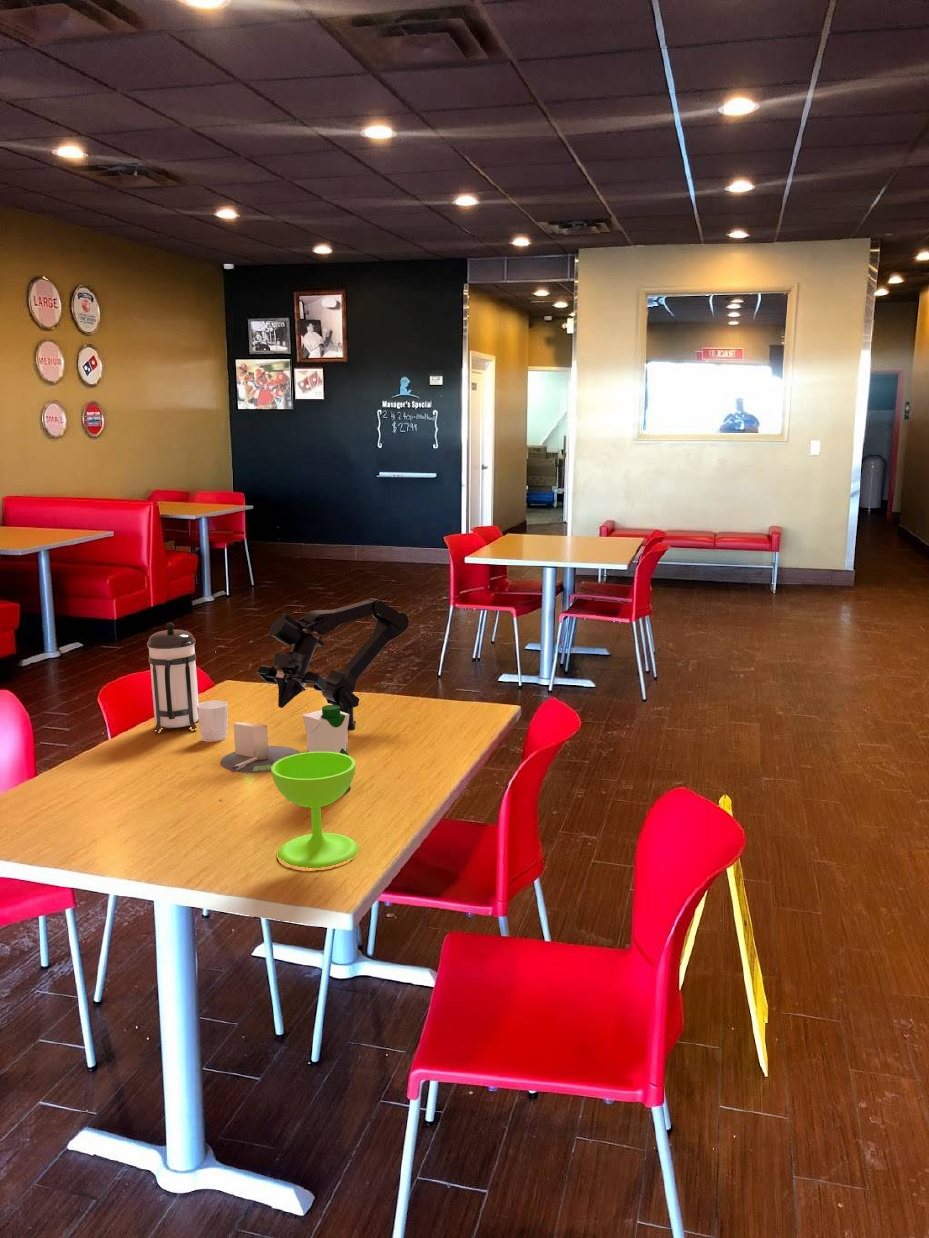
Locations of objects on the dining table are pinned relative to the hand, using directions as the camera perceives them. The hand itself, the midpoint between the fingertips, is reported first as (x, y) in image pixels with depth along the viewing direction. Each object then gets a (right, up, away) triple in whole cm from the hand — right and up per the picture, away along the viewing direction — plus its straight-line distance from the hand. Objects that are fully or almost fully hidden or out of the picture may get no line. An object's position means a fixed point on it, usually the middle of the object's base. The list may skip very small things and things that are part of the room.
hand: (280, 707), depth 248 cm
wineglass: (+19, -23, -61) cm, 68 cm away
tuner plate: (-3, -13, -9) cm, 16 cm away
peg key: (-8, -12, -11) cm, 18 cm away
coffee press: (-32, -8, +20) cm, 39 cm away
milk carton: (+17, -16, -28) cm, 36 cm away
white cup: (-19, -10, +9) cm, 24 cm away
